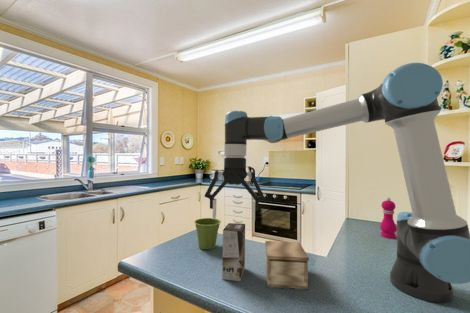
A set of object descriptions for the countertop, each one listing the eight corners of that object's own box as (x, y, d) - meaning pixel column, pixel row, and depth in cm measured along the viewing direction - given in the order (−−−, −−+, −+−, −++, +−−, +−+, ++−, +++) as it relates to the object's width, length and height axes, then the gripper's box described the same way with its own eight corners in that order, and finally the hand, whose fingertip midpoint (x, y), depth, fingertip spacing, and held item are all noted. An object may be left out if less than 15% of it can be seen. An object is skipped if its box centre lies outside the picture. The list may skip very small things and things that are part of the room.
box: (298, 267, 83) (299, 245, 83) (307, 289, 69) (307, 263, 69) (265, 265, 84) (265, 243, 84) (267, 287, 70) (267, 261, 70)
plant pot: (214, 253, 94) (214, 226, 94) (188, 249, 98) (189, 223, 98) (224, 243, 105) (224, 219, 105) (201, 240, 109) (201, 216, 109)
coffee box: (241, 281, 73) (241, 231, 73) (221, 279, 74) (222, 229, 74) (245, 268, 82) (245, 223, 82) (228, 266, 83) (228, 222, 83)
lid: (299, 245, 83) (299, 242, 83) (308, 261, 69) (308, 257, 69) (265, 243, 84) (265, 240, 84) (267, 259, 70) (267, 255, 70)
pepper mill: (380, 233, 122) (380, 195, 122) (396, 236, 118) (397, 197, 118) (379, 237, 116) (379, 197, 116) (396, 240, 112) (397, 199, 112)
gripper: (271, 157, 81) (269, 217, 81) (202, 156, 83) (200, 214, 83) (272, 158, 73) (271, 224, 73) (196, 156, 76) (195, 220, 76)
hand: (233, 219), depth 78 cm, fingers open, 13 cm apart
